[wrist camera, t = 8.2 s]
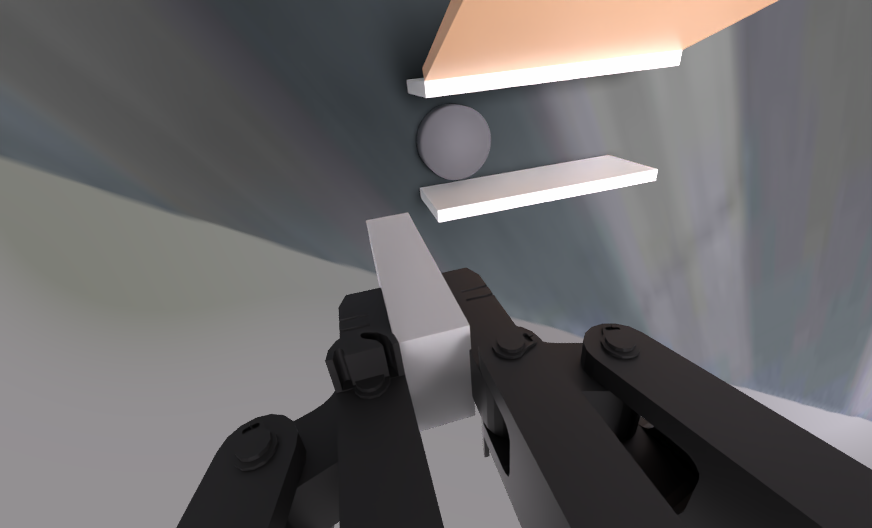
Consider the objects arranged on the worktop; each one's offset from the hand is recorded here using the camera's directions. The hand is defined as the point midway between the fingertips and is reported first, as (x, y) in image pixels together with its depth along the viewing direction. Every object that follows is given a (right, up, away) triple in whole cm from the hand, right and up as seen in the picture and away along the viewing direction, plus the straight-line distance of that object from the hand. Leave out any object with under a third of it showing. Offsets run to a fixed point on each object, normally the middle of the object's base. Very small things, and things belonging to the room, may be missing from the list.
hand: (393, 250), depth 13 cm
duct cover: (+11, +13, +7) cm, 19 cm away
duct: (+9, +12, +20) cm, 25 cm away
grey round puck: (+3, +11, +19) cm, 22 cm away
